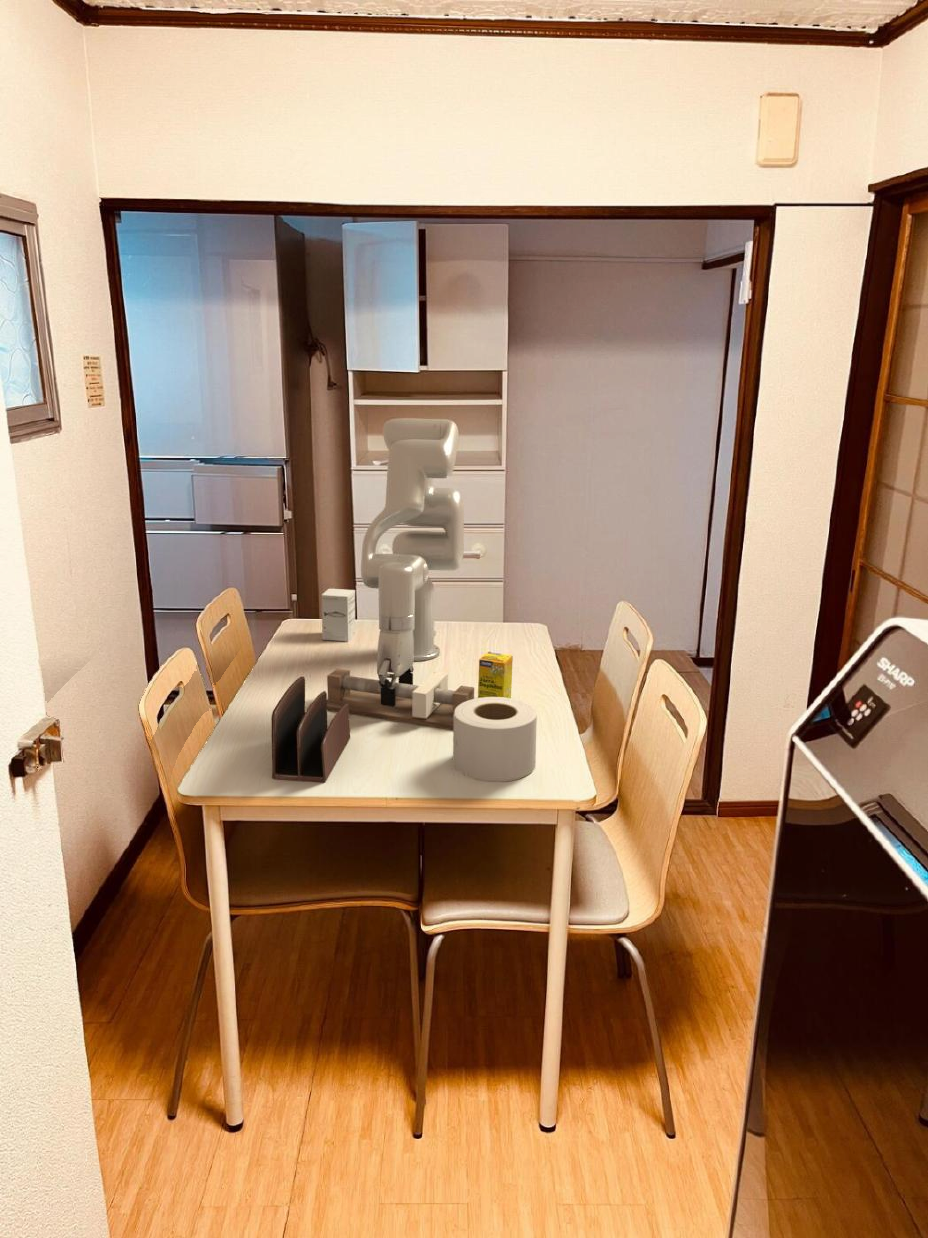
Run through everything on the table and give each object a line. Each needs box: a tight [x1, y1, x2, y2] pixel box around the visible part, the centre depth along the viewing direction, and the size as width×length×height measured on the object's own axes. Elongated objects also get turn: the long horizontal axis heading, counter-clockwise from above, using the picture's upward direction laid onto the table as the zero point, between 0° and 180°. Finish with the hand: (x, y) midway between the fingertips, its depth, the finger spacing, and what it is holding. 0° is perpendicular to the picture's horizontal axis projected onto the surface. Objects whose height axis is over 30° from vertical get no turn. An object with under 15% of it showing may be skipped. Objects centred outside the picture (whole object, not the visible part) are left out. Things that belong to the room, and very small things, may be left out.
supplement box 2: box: [477, 651, 514, 699], centre depth 201 cm, size 6×6×11 cm
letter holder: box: [270, 676, 351, 784], centre depth 173 cm, size 10×20×14 cm, turn 174°
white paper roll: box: [452, 697, 538, 783], centre depth 172 cm, size 16×15×11 cm
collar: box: [412, 671, 449, 718], centre depth 195 cm, size 13×3×5 cm, turn 161°
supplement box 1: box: [321, 588, 356, 643], centre depth 245 cm, size 7×7×13 cm
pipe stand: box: [326, 668, 475, 731], centre depth 198 cm, size 12×32×6 cm, turn 71°
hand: (397, 697), depth 198 cm, fingers open, 9 cm apart
